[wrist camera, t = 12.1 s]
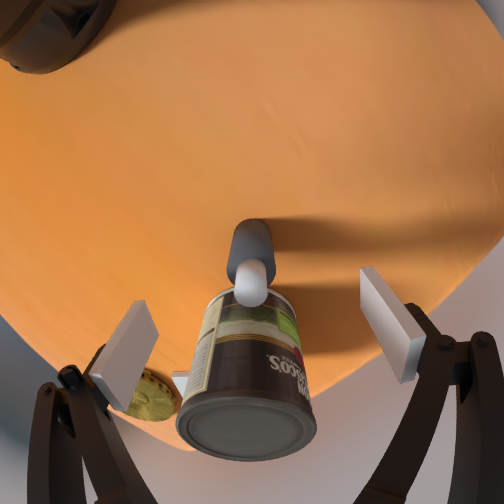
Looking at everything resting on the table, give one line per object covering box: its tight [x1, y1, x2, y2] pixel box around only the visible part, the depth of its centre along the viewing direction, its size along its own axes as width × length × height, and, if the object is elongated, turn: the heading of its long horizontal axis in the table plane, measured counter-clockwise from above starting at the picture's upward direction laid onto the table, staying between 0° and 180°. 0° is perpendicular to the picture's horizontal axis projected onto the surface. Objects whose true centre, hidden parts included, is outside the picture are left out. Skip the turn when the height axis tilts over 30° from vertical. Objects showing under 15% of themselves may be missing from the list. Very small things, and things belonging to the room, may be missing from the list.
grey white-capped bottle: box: [227, 219, 276, 307], centre depth 21 cm, size 3×3×10 cm
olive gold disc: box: [121, 369, 176, 422], centre depth 35 cm, size 12×12×2 cm
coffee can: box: [176, 287, 317, 462], centre depth 23 cm, size 10×10×14 cm
